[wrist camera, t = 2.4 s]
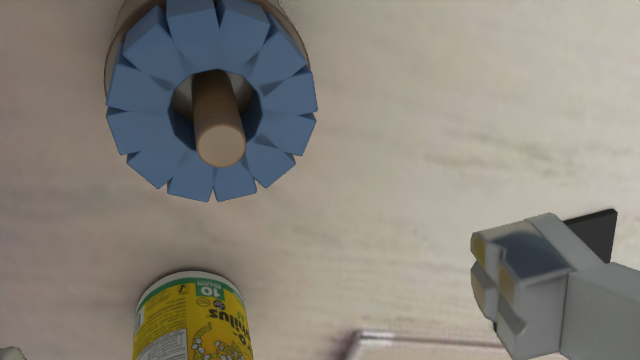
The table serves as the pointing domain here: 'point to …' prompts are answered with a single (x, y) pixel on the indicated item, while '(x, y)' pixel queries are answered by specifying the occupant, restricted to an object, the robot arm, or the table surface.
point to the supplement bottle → (191, 320)
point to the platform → (205, 89)
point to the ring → (198, 56)
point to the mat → (594, 233)
